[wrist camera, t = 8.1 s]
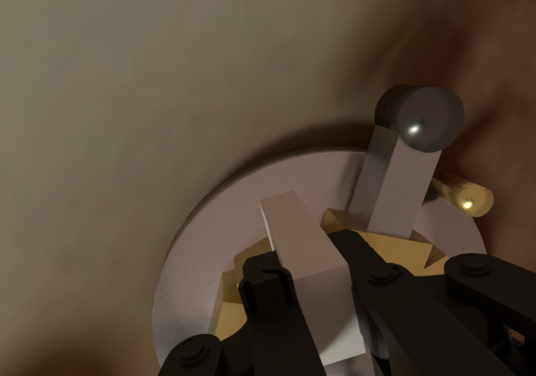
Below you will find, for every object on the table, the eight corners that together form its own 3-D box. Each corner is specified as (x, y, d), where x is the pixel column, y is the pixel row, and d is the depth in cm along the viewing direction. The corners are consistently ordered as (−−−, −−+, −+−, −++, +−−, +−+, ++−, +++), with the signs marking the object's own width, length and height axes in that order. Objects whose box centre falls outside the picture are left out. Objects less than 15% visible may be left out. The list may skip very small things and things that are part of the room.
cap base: (424, 425, 31) (487, 531, 24) (147, 427, 27) (123, 553, 20) (511, 166, 25) (629, 204, 18) (169, 123, 21) (145, 150, 14)
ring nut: (397, 423, 27) (428, 484, 23) (190, 407, 24) (185, 473, 20) (527, 117, 21) (599, 128, 17) (275, 48, 18) (291, 41, 14)
